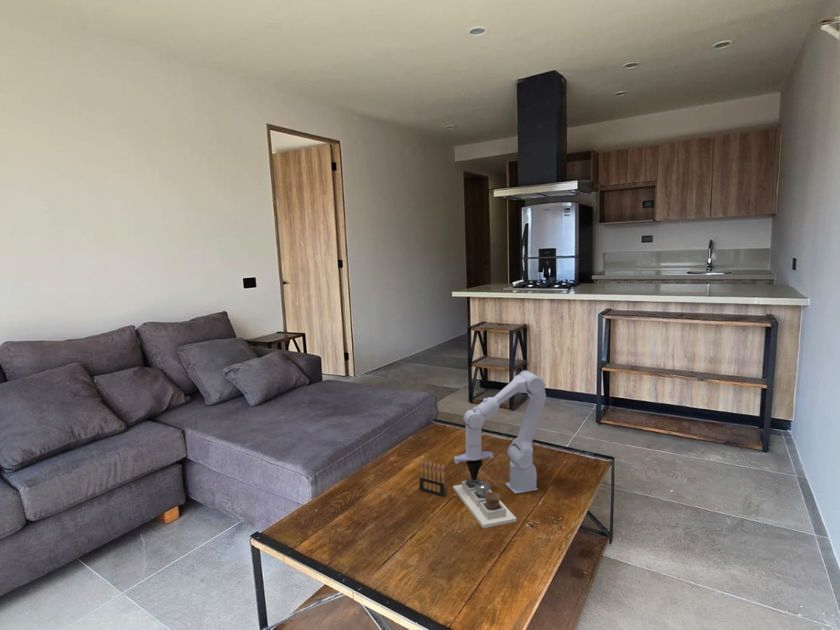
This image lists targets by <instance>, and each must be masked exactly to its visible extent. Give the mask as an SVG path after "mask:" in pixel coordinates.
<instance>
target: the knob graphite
mask: <svg viewBox="0 0 840 630" xmlns="http://www.w3.org/2000/svg"><path fill="white" fill-rule="evenodd" d="M466 480H467V484H468V486H469V488H474V487H475V484H476V483H477V482H480V481H481V479H480V478H479V477H477V480H472V478H471V476H470V477H468V478H466Z"/></svg>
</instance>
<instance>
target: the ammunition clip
mask: <svg viewBox="0 0 840 630" xmlns="http://www.w3.org/2000/svg"><path fill="white" fill-rule="evenodd" d="M445 470H446V469H445V464H442V465H441V464H440V463H437V464H436V462H435V461H434V462H433V465H432V461H429V463H428V460H426V459H425V462H424V460H423V459H421V461H420V470H419V472H420V473H419V475H420V476H419V485H418V486H419V491H421V490H422V491H421V492H424V491H425V493H428V492H429V493H428V494H431V493H432V495H436V496H439V497H443V498H445V497H446V496H447V481H446V471H445Z"/></svg>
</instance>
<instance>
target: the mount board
mask: <svg viewBox="0 0 840 630" xmlns="http://www.w3.org/2000/svg"><path fill="white" fill-rule="evenodd" d="M452 489H453V491H454V493H455V494H456V495H457V496H458V498H459V499H460V500H461V501H462V503H463V504H464V505H465V507H466V508H467V509H468V511H469V512H470V513H471V515H472V516H473V517H474V519H475V520H476V521H477V523H478V524H479V525H480V526H481V528H482V529H487V528H492V527H497V526H502V525H507V524H513V523H517V517H516V516H515V514H513V513H512V512H511V511H510V510H509V509H508V507H507V506H506V505H505V504H504V503H503V502H502V501H501V499H500V500H499V508H498V509H497V510H490V509H488V508H487V507H486V499H485V498H479V497H478V496H477V495H476V488H475V487H474V488H469V486H468V484H467V479H465V480H462V481H461V484H457V485H453V486H452ZM489 492H493V491H492V490H491V488H490V489H489Z"/></svg>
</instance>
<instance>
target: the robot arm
mask: <svg viewBox="0 0 840 630" xmlns="http://www.w3.org/2000/svg"><path fill="white" fill-rule="evenodd" d="M546 385H547V384H546V383H545V381H544V380H543V378H542V377H540V376H538V375H536V374H534V373H532V372H531V371H529V370H522V371H520V372H519V374H517V375H515V376H514V377H513V379H512V380H511V381H510V382H509V383H508V384H507V385H506V386H504V387H503V388H502V389H501V390H500V391H499V392H498V393H497V394H495V396H493V397H492V396H491V397H490V396H489V397H487V398H486V397H485V398H483V399H482V401H481V402H480V403H479V404H478V405H476V406H473V408H472V409H469V410H467V411H466V412H465V413H464V414H463V417H462V419H463V422H464V423H465V452H464V453H462V454H459V455H456V456H454V457H453V460H454V461H453V462H454V463H455V464H456V465H458V464H459V463H464V462H465V463H466V465H467V468H468V470H469V471H468V472H469V475H470V477H471V478H472V480H477V478H478V475H479V472H480V469H481V468H482V466H483V463H484V462H483V460H484V459H493V458H494V453H493V452H492V451H491V450H489V451H487V450H486V451H483V450H482V428H483V426H484V424H485V422H486V420H488V419H489V418H491V416H493V415H494V414H495V413H496V412H497V411H499V409H500V405H501V404H503V403H504V402H506V401H507V400H509V399H510V398H511V397H513V396H515V395H516V394H518V393H520V394H521V393H522V394H527V395H528V397H529V402H528V404H527V407H526V411H525V413H524V415H523V416H524V417H523V419H522V422H521V426H520V429H519V431H518V435H517V437H516V438H514V439H513V440H512V443H511V444H510V445H509V446H508V448H507V456H508V457H509V458H510V459H509V481H508V482H505V483H504V484H505V485H506V486H507V488H508V489H509V490H511V492H512V493H514V494H515V495H516V494H522V493H528V492H532V491H537V490H538V488H537V476H538V474H537V469H536V468H537V467H536V466H535V465H534V463H533V462H534V461H533V454H534V449H533V444H532V442H533V439H534V438H535V433H536V431H537V427H538V425H539V422H540V418H541V415H542V412H543V409H544V406H545V403H546V400H547V394H546ZM482 459H483V460H482Z"/></svg>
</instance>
